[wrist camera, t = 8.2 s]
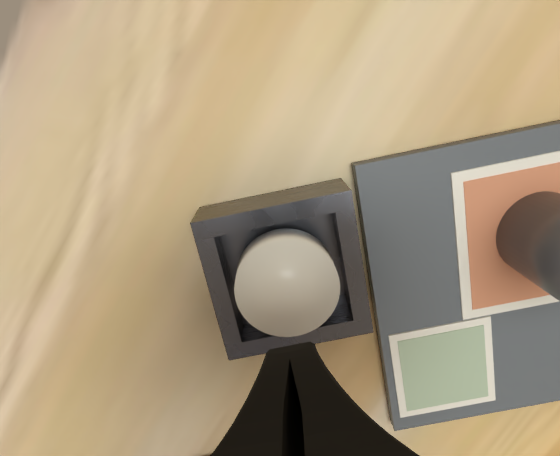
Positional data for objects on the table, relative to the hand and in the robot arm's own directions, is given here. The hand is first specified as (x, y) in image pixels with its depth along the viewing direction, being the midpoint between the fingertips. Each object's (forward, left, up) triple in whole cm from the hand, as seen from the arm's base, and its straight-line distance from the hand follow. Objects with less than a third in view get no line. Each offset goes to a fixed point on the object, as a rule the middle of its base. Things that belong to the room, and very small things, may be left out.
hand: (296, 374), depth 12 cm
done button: (0, 0, -7) cm, 7 cm away
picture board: (-4, -11, -9) cm, 15 cm away
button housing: (0, 0, -9) cm, 9 cm away
